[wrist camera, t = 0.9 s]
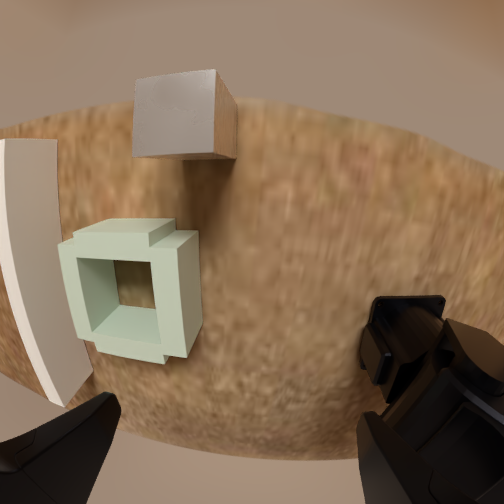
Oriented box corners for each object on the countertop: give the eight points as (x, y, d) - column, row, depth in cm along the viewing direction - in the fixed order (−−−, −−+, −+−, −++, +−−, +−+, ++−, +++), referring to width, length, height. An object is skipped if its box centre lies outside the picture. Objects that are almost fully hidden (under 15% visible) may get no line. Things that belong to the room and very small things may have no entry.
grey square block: (237, 105, 16) (215, 69, 10) (236, 159, 17) (213, 152, 11) (183, 107, 17) (136, 79, 10) (181, 160, 18) (132, 157, 11)
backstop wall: (57, 139, 18) (4, 138, 12) (93, 370, 24) (64, 407, 18) (42, 143, 18) (-9, 144, 12) (79, 366, 24) (49, 401, 18)
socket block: (198, 218, 19) (176, 233, 14) (203, 331, 21) (188, 367, 17) (92, 219, 19) (55, 232, 15) (107, 319, 22) (80, 347, 17)
